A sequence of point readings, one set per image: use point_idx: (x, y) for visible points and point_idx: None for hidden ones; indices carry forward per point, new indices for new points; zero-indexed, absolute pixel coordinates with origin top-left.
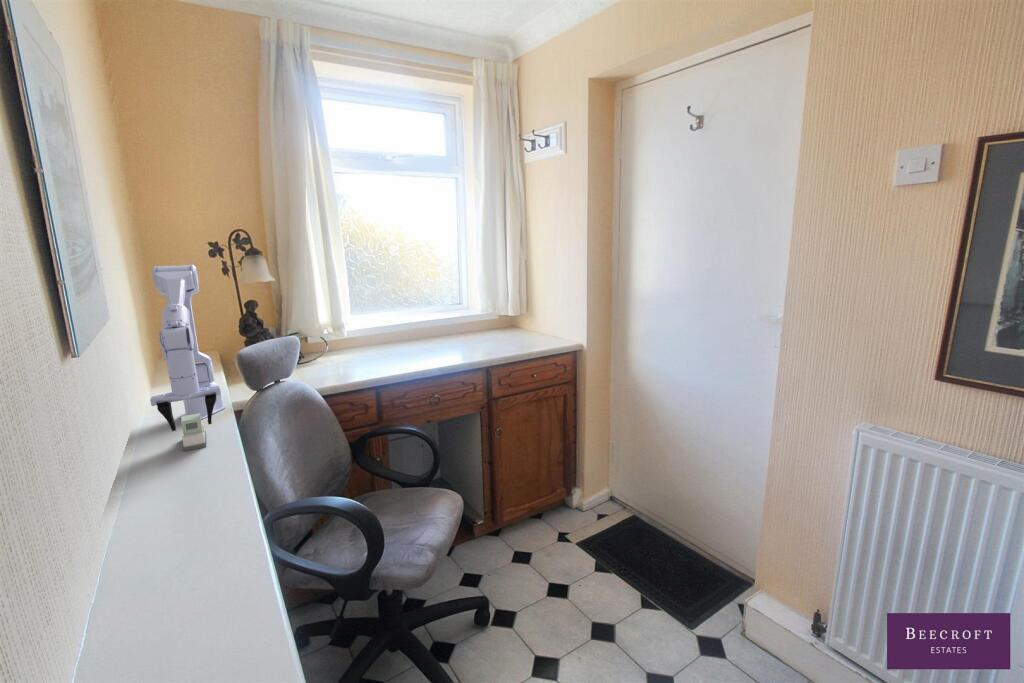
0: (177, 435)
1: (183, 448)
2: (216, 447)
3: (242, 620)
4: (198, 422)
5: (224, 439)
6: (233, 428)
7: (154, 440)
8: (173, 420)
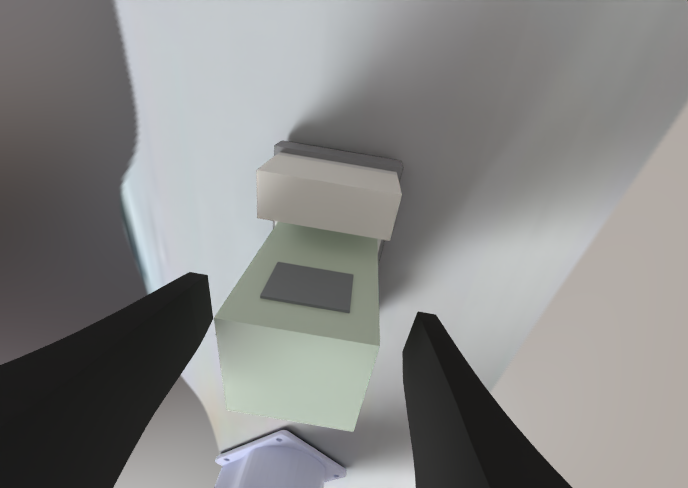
0: (376, 370)
1: (399, 166)
2: (229, 94)
3: None
4: (251, 291)
5: (195, 194)
6: None
7: None
8: (422, 402)
